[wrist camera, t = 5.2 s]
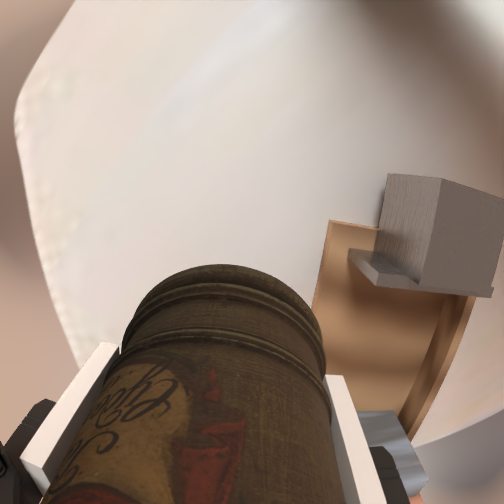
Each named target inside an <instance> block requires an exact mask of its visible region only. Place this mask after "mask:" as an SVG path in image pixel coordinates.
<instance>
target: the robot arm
mask: <svg viewBox="0 0 504 504" xmlns="http://www.w3.org/2000/svg"><path fill="white" fill-rule="evenodd" d="M118 356H119V345H114V344H110V343H106V342H101V344H100V345H99V346H98V347H97V349H96V350H95V351H94V353H93V354H92V355H91V357H90V358H89V359H88V361H87V362H86V363H85V365H84V366H83V367H82V369H81V370H80V371H79V373H78V374H77V375H76V377H75V378H74V380H73V381H72V382H71V384H70V385H69V387H68V388H67V389H66V391H65V392H64V393H63V395H62V396H61V398H60V399H59V400H58V402H57V403H56V402H53V401H51V400H48V399H44V400H42V401H40V402H39V403H37V404H35V405H34V406H33V408H32V409H31V410H30V411H29V413H28V414H27V417H25V418H24V420H23V421H22V424H20V425H19V426H18V428H17V429H16V430H15V432H14V433H13V435H12V436H11V437H10V439H9V440H8V441H7V443H6V444H5V446H3V445H2V443H1V441H0V504H39V502H40V501H41V499H42V497H44V495H45V493H46V491H47V489H48V487H49V486H50V484H51V482H52V480H53V478H54V476H55V474H56V472H57V470H58V468H59V466H60V465H61V463H62V460H63V459H64V457H65V455H66V453H67V452H68V450H69V448H70V446H71V445H72V443H73V441H74V439H75V437H76V435H77V434H78V432H79V430H80V428H81V426H82V424H83V422H84V421H85V419H86V417H87V416H88V414H89V412H90V410H91V408H92V407H93V405H94V403H95V401H96V399H97V397H98V395H99V394H100V392H101V390H102V386H103V383H104V379H105V376H106V374H107V372H108V370H109V368H110V366H111V365H112V363H113V362H114V361H115V359H116V358H117V357H118ZM323 385H324V387H325V389H326V391H327V393H328V395H329V398H330V401H331V407H332V422H331V432H332V438H333V443H334V449H335V454H336V459H337V463H338V468H339V473H340V477H341V482H342V487H343V492H344V496H345V500H346V504H410V501H409V498H408V496H407V493H406V490H405V488H404V485H403V482H402V480H401V478H400V474H399V472H398V469H396V464H395V462H394V459H393V457H392V455H391V454H390V453H389V452H388V451H387V450H386V449H385V447H384V446H376V447H368V445H367V442H366V439H365V436H364V433H363V430H362V427H361V425H360V422H359V419H358V416H357V413H356V410H355V408H354V405H353V402H352V399H351V397H350V394H349V391H348V388H347V386H346V383H345V380H344V377H343V375H325V376H324V379H323Z"/></svg>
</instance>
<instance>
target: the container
mask: <svg viewBox="0 0 504 504" xmlns="http://www.w3.org/2000/svg"><path fill="white" fill-rule="evenodd" d="M326 368H327V361H326V354H325V350H324V347H323V339H322V333H321V329H320V326H319V323H318V321H317V319H316V317H315V315H314V314H313V312H312V310H311V309H310V308H309V306H308V305H307V304H306V303H305V301H304V300H303V299H302V298H301V297H300V296H299V295H298V294H297V293H296V292H295V291H294V290H293V289H291V288H290V287H289V286H287V285H286V284H284V283H283V282H281V281H280V280H278V279H276V278H275V277H273V276H271V275H268V274H266V273H263V272H261V271H258V270H255V269H251V268H248V267H243V266H238V265H229V264H215V265H204V266H198V267H194V268H190V269H187V270H184V271H181V272H179V273H176V274H174V275H172V276H170V277H168V278H166V279H165V280H163V281H162V282H160V283H159V284H158V285H156V286H155V287H154V288H153V289H152V290H151V291H150V292H149V293H148V294H147V295H146V296H145V298H144V299H143V300H142V302H141V303H140V305H139V306H138V308H137V310H136V312H135V314H134V317H133V319H132V320H131V322H130V323H129V325H128V327H127V329H126V331H125V334H124V337H123V341H122V348H121V354H120V355H119V356H118V357H117V358H116V359H115V361H114V362H113V363H112V365H111V366H110V368H109V370H108V372H107V374H106V376H105V379H104V383H103V386H102V390H101V392H100V394H99V395H98V397H97V399H96V401H95V403H94V405H93V407H92V408H91V410H90V412H89V414H88V416H87V417H86V419H85V421H84V422H83V424H82V426H81V428H80V430H79V432H78V434H77V435H76V437H75V439H74V441H73V443H72V445H71V446H70V448H69V450H68V452H67V453H66V455H65V457H64V459H63V460H62V463H61V465H60V466H59V468H58V470H57V472H56V474H55V476H54V478H53V480H52V482H51V484H50V486H49V487H48V489H47V491H46V493H45V495H44V497H43V500H42V502H41V503H40V504H346V500H345V496H344V492H343V487H342V482H341V477H340V473H339V468H338V463H337V459H336V454H335V449H334V443H333V438H332V432H331V422H332V407H331V401H330V398H329V395H328V393H327V391H326V389H325V387H324V385H323V379H324V376H325V375H326Z"/></svg>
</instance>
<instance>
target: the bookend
mask: <svg viewBox="0 0 504 504" xmlns="http://www.w3.org/2000/svg"><path fill="white" fill-rule="evenodd" d="M503 237H504V199H501V198H499V197H496V196H493V195H490V194H488V193H485V192H482V191H479V190H476V189H473V188H470V187H467V186H464V185H461V184H458V183H455V182H451V181H448V180H445V179H442V178H433V177H423V176H412V175H401V174H389V173H388V177H387V183H386V189H385V195H384V201H383V206H382V212H381V217H380V222H379V227H378V232H377V237H376V242H375V247H374V251H368V250H361V249H355V248H349V253H348V257H347V258H348V259H349V260H350V261H351V262H352V263H353V264H354V265H355V266H356V267H357V268H358V269H359V270H360V271H361V272H362V273H363V274H364V275H365V276H366V277H367V278H368V279H369V280H370V281H371V282H372V283H373V284H374V285H375V286H382V287H390V288H399V289H408V290H417V291H427V292H436V293H445V294H455V295H465V296H475V297H485V298H491V296H492V293H493V290H494V287H492V286H491V284H492V280H493V277H494V273H495V270H496V266H497V262H498V258H499V254H500V250H501V246H502V242H503Z"/></svg>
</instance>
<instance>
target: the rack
mask: <svg viewBox="0 0 504 504" xmlns="http://www.w3.org/2000/svg"><path fill="white" fill-rule="evenodd" d="M377 232H378V228H374V227H368V226H363V225H357V224H351V223H345V222H339V221H333V220H329V224H328V229H327V235H326V240H325V245H324V251H323V256H322V261H321V266H320V271H319V275H318V280H317V285H316V290H315V294H314V299H313V303H312V308H311V310H312V312H313V314H314V315H315V317H316V319H317V321H318V323H319V326H320V329H321V333H322V339H323V347H324V350H325V354H326V361H327V368H326V375H343V377H344V380H345V383H346V386H347V388H348V391H349V394H350V397H351V399H352V402H353V405H354V408H355V410H356V413H357V416H358V419H359V422H360V425H361V427H362V430H363V433H364V436H365V439H366V442H367V445H368V447H376V446H384V447H385V449H386V450H387V451H388V452H389V453H390V454H391V455H392V457H393V459H394V462H395V464H396V469H398V472H399V474H400V478H401V480H402V482H403V485H404V488H405V490H406V493H407V496H408V498H409V501H410V504H424V502H423V500H422V498H421V495H420V493H419V492H420V490H421V489H422V488H423V486H424V485H425V484H426V483H427V482H428V480H429V479H428V477H427V475H426V473H425V471H424V469H423V467H422V465H421V463H420V461H419V459H418V457H417V455H416V453H415V451H414V449H413V447H412V445H411V443H410V442H411V441H412V439H413V437H414V435H415V434H416V432H417V430H418V429H419V427H420V425H421V423H422V422H423V420H424V418H425V416H426V414H427V412H428V410H429V409H430V407H431V405H432V403H433V401H434V399H435V397H436V395H437V393H438V391H439V389H440V387H441V385H442V383H443V380H444V378H445V376H446V374H447V372H448V370H449V367H450V365H451V363H452V361H453V358H454V356H455V353H456V351H457V349H458V346H459V344H460V341H461V339H462V336H463V333H464V331H465V328H466V325H467V323H468V320H469V317H470V314H471V311H472V308H473V306H474V303H475V299H476V297H475V296H465V295H455V294H445V293H436V292H427V291H417V290H408V289H399V288H390V287H382V286H375V285H374V284H373V283H372V282H371V281H370V280H369V279H368V278H367V277H366V276H365V275H364V274H363V273H362V272H361V271H360V270H359V269H358V268H357V267H356V266H355V265H354V264H353V263H352V262H351V261H350V260H349V259H348V258H347V257H348V253H349V248H355V249H361V250H368V251H374V247H375V242H376V237H377Z"/></svg>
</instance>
